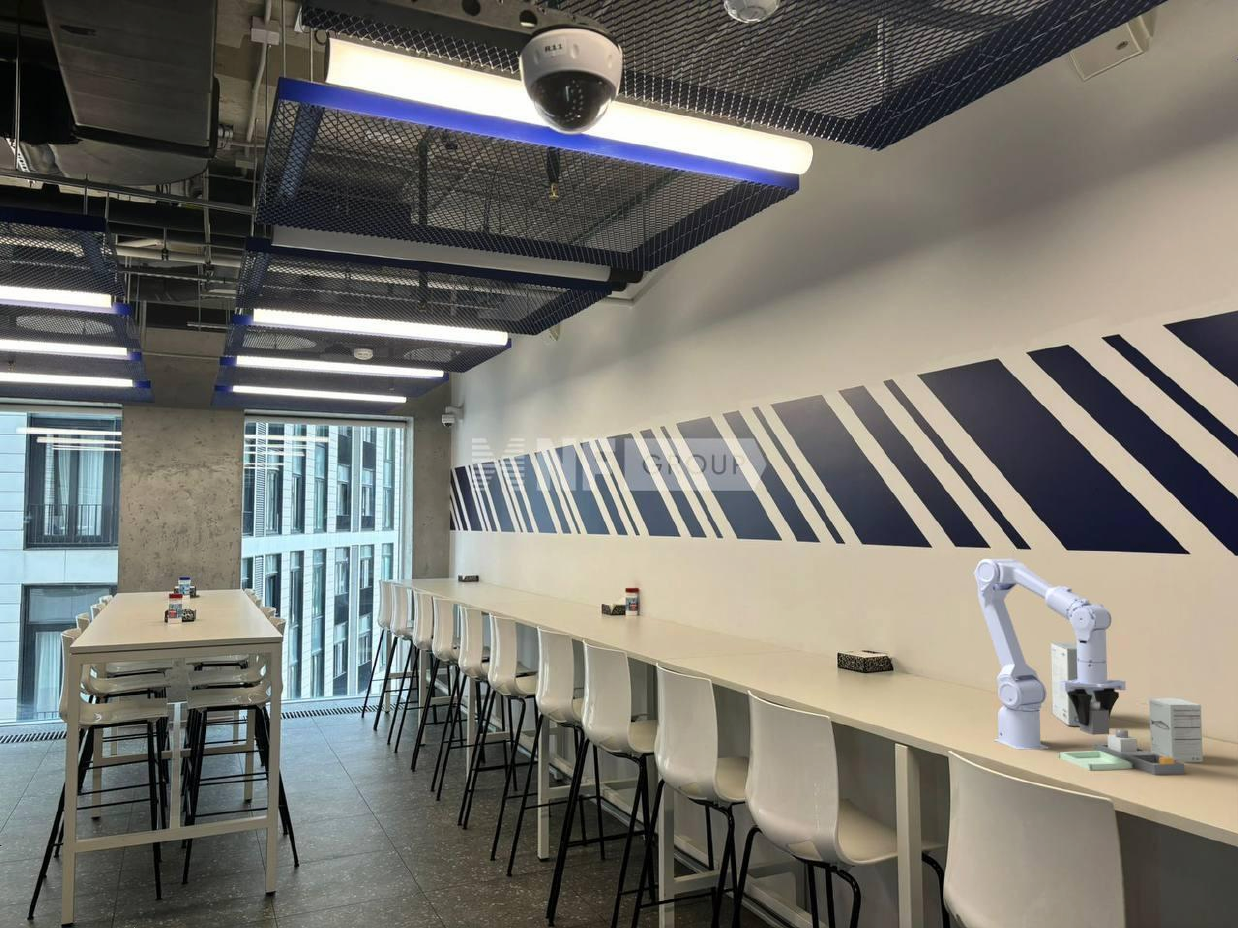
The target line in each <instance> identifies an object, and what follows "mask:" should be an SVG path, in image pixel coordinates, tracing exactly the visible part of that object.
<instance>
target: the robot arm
mask: <svg viewBox="0 0 1238 928" xmlns="http://www.w3.org/2000/svg"><path fill="white" fill-rule="evenodd" d="M973 575H974V579H975V581H976V584H977V599H978V602H979V605H980V609H981V611H982V614H983V618H984V620H985V624H986V627H987V629H988V631H989V634H990V638H991V641H992V644H993V646H994V649H995V652H996V655H997V658H998V661H999V664H1000V667H1001V670H1000V672H999V674H998V675H997V677H996V681H997V684H998V690H997V692H998V697H999V700H1000V701H1001V703H1002V704H1003V706H1001V707H1000V709H999V710H998V713H997V726H998V729H997V730H998V738H995V739H994V741H995V742H997V743H1001V744H1003V745H1007V746H1009V747H1010V748H1012V749H1013V748H1014V749H1016V750H1019V751H1020V750H1042V749H1043V750H1045V749H1047V750H1048V749H1050V748H1049V747H1048V746H1046V745H1044V744H1042V743H1041V713H1040V710H1041V708H1042V704H1043V703H1044V702H1045V701H1046V698H1047V688H1046V686H1045V684H1044V683H1043V682H1042V680H1041V679H1040V678H1039V676H1038V674H1037V671H1036V670H1035V669H1034V668H1032V667H1031V666H1029V665H1028V664H1027V663H1026V660H1025V657H1024V654H1023V651H1022V647H1021V645H1020V642H1019V640H1018V637H1017V634H1016V631H1015V628H1014V626H1013V622H1012V620H1011V617H1010V613H1009V611H1008V608H1007V606H1006V602H1005V599H1006V597H1007V595H1008V594H1009V593H1010V592H1011V591H1012V590H1013V588H1015V587H1016V586H1017V585H1020V586H1021V587H1023V588H1025V589H1026V590H1028V591H1030V592H1032V593H1034V594H1035V595H1038V596H1039V597H1040V598H1043V599H1044V600H1045V604H1046V606H1047V607H1048V608H1049V609H1050V610H1052V611H1054V612H1056V613H1057V614H1059V615H1060V616H1061V617H1063V618H1064V619H1066V620H1067V621H1069V623H1070V625H1071V627H1072V628H1073V630H1074V636H1075V637H1076V643H1077V676H1078V679H1077V680H1069V681H1059V689H1060V690H1061V691H1064V692H1067V694H1068V696H1069V697H1070V699H1071V701H1072V703H1073V705H1074V707H1075V710H1076V712H1077V716H1078V719H1079V723H1080V724H1082V725H1085V726H1088V725H1089V709H1090V702H1091V699H1092V695H1090V694H1087V692H1085V691H1091V690H1093V692H1094V695H1095V699H1096V701H1099V702H1100V708H1103V709H1106V710H1109V718H1110V717H1111V713H1112V711H1113V708H1114V705H1115V704H1116V702H1117V701H1118V699H1119V698H1120V692H1118V691H1126V690H1127V689H1126V688H1127V687H1126V681H1125V680H1121V679H1108V663H1107V662H1108V659H1107V629H1109V628H1110V627H1111V624H1112V615H1111V612H1110V611H1109V610H1108V608H1106V607H1105V606H1104V605H1103V604H1099V603H1096V604H1095V603H1094V604H1092V603H1091V602H1090V599H1088V598H1083V597H1081V596H1079V595H1077V594H1076V593H1075V592H1073V589H1072V588H1071V587H1070V586H1063V585H1058V586H1053V585H1052V584H1050V582H1047V580H1045V579H1043V578H1042V577H1040V576H1039V575H1038V574H1036V573H1035V572H1034V571H1033V570H1031V569H1029V568H1028V567H1027V566H1026V565H1025V564H1024V563H1023V562H1019V561H1018V560H1017V559H1015V558H1009V557H1008V558H997V559H994V558H993V559H990V558H984V559H982V560H980V561H979V562H978V563H977V565H976V568H975V570H974V571H973ZM1087 687H1096V688H1087Z"/></svg>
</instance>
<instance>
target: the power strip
mask: <svg viewBox="0 0 1238 928" xmlns="http://www.w3.org/2000/svg"><path fill="white" fill-rule="evenodd" d="M1093 749H1094V750H1093V751H1102V752H1104V753H1107V754H1110V755H1113V756H1115V757H1118V758H1121V759H1124V760H1126V761H1129V762H1132V765H1133V769H1136V770H1140V771H1142V772H1145V773H1148V774H1151V775H1153V776H1165V775H1166V776H1167V775H1185V774H1186V773H1185V772H1186V769H1185V767H1186V766H1185V762H1182V761H1179V760H1174V758H1172V757H1163V756H1160V755H1157V754H1154V753H1152V752H1151V751H1148V750H1145V749H1142V748H1140V747H1137V751H1133V752H1119V751H1116V750H1113V749H1110V748H1108V742H1107V743H1106V742H1105V743H1104V742H1103V743H1093Z"/></svg>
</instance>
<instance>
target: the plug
mask: <svg viewBox="0 0 1238 928" xmlns="http://www.w3.org/2000/svg"><path fill="white" fill-rule="evenodd" d="M1079 731H1082V732H1084V733H1087V734H1089V735H1093V736H1094V735H1110V717H1109V710H1106V709H1103V708H1100V702H1099V701H1092V700H1091V702H1090V709H1089V725H1088V726H1085V725H1082V724H1080V726H1079Z"/></svg>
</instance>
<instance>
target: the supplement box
mask: <svg viewBox="0 0 1238 928" xmlns="http://www.w3.org/2000/svg"><path fill="white" fill-rule="evenodd" d="M1148 699H1149V730H1150V732H1149V733H1150V752H1151V753H1154V754H1157V755H1160V756H1163V757H1172V758H1174V760H1175V761H1178V762H1181V763H1203V762H1204V761H1203V759H1204V756H1203V727H1202V725H1203V724H1202V704H1199V703H1195V702H1192V701H1189V700H1185V699H1182V698H1179V697H1158V698H1157V697H1155V698H1154V697H1151V698H1148Z"/></svg>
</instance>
